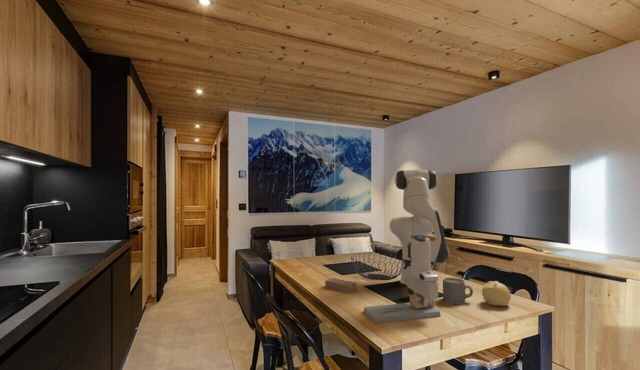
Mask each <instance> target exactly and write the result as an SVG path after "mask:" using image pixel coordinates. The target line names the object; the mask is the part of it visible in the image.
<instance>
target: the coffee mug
mask: <svg viewBox="0 0 640 370" xmlns="http://www.w3.org/2000/svg"><path fill="white" fill-rule="evenodd" d="M466 289H468V290H469V293H466ZM473 294H474V290H473V287H472V286H471V285H469V284H466V282H465V279H462V278H457V277H444V278H442V300H443V302H446V303H448V304H453V305H462V304H465V303H466V299H468V298H471V297H472V296H473Z"/></svg>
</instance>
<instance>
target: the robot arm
mask: <svg viewBox="0 0 640 370" xmlns="http://www.w3.org/2000/svg"><path fill="white" fill-rule="evenodd" d="M393 181H394V184H395V186H396V188H397V189H398V190H402V191H403V194H402V197H403V198H402V208H403V209H404V210H405V212H407V213H408V214H410V215H413V216H396V217H393V218H391V220H390V222H389V230H390V231H391V233H392V234H393V235H395V236H396V237H397V238H398V240H399V241H400V244H401V249H402V250H401V251H402V258H401V268H402V269H401V278H400V279H399V280H400V281H399V282H400V284H403V285H404V286H406V288H407V287H408V288H410V289H412V290H413V291H414V295H417V294H421V295H422V296H423V298H424V301H422V303H423V304H422V305H423V306H428V301H429V300H433V301H435V300H437V299H438V298H439V285H440V283H441V282H440V281H439V275H438V274H437V273H436V272H434V270H433V269H432V263H437V264H444V263H445V262H447V261H448V259H449V258H450V251H449V250H450V249H449V247H448V244H447V241H446V237H445V234H444V233H445V232H444V229H443V225H442V221H441V218H440V213H439V211H438V209H437V208H436V207H434V206H433V205H432V202H431V198H430V197H431V196H430V190H433V189H435V188H436V187H437V184H438V181H439V180H438V175H437V173H436V171H435V170H432V169H420V168H419V169H407V170H404V169H401V170H398V171H397V172H396V173H395V176H394V180H393ZM432 233H434V237H435V240H433V241H431V240H430V238H429V237H428V235H432ZM411 236H412V237H411ZM406 277H407V282H406Z"/></svg>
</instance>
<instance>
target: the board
mask: <svg viewBox="0 0 640 370" xmlns="http://www.w3.org/2000/svg"><path fill="white" fill-rule="evenodd" d="M363 312H364V313H365V314H366V315H367V316H368V317H369V318H370V319H371V320H372V321H373V322H374V323H375V324H377V323H388V322H398V321H407V320H415V319H416V320H417V319H424V318H425V319H426V318H434V317H435V318H436V317H441V310H438V309H437V308H436V307H434V306H433V308H429V309H418V310H414V309H413V308H411V307H410V302H405V303H404V302H402V303H394V304H393V303H391V304H381V305H380V304H379V305H372V306H370V305H369V306H363Z"/></svg>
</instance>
